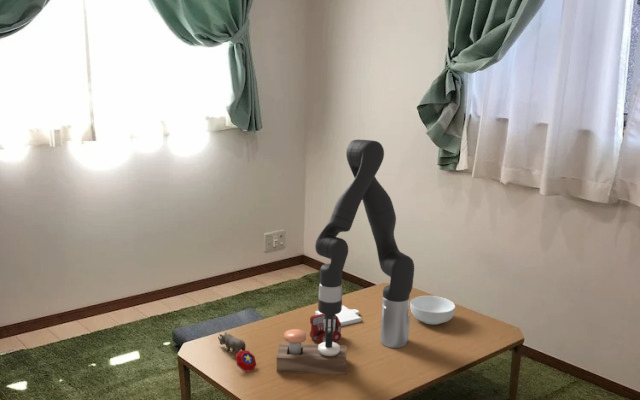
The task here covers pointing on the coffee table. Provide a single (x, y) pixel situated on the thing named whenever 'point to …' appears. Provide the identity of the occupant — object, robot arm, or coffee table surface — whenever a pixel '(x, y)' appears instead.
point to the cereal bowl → (432, 309)
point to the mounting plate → (346, 316)
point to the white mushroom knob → (328, 349)
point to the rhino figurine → (232, 343)
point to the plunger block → (310, 360)
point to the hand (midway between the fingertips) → (328, 346)
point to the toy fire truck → (318, 329)
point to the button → (245, 360)
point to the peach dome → (295, 340)
